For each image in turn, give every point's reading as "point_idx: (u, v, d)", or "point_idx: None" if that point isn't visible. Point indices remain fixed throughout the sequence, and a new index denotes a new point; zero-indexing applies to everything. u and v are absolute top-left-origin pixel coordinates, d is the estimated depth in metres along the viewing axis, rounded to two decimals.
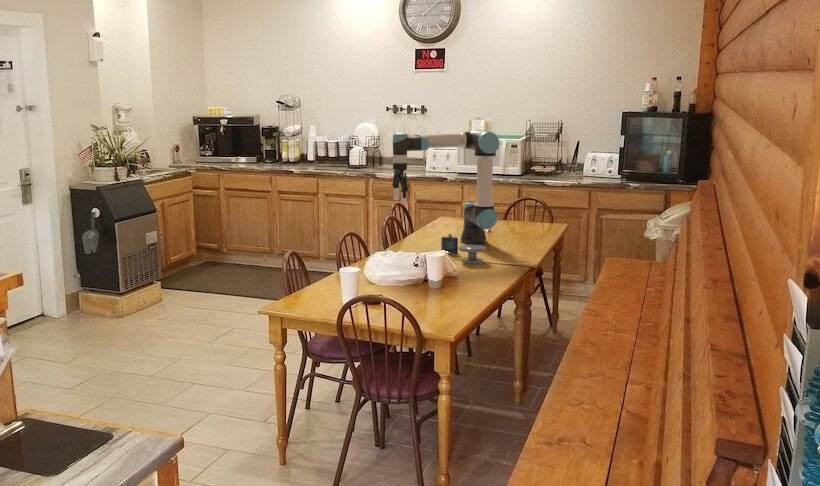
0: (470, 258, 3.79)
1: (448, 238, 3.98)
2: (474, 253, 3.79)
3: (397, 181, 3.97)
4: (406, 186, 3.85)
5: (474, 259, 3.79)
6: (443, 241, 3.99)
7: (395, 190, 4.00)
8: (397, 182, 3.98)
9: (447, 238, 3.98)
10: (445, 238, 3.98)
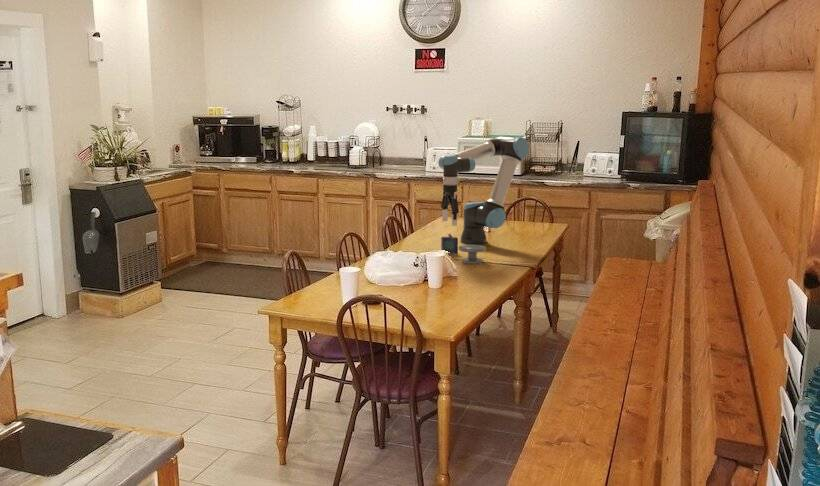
0: (470, 258, 3.79)
1: (448, 238, 3.98)
2: (474, 253, 3.79)
3: (446, 202, 3.98)
4: (457, 208, 3.86)
5: (474, 259, 3.79)
6: (443, 241, 3.99)
7: (444, 211, 4.02)
8: (446, 203, 3.99)
9: (447, 238, 3.98)
10: (445, 238, 3.98)
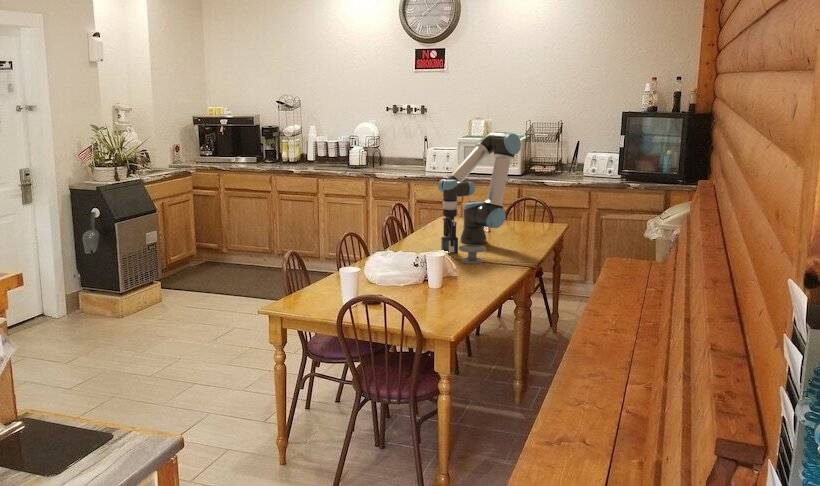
0: (470, 258, 3.79)
1: (448, 238, 3.98)
2: (474, 253, 3.79)
3: (448, 228, 4.00)
4: (454, 235, 3.93)
5: (474, 259, 3.79)
6: (443, 241, 3.99)
7: None
8: (448, 230, 4.00)
9: (447, 238, 3.98)
10: (445, 238, 3.98)
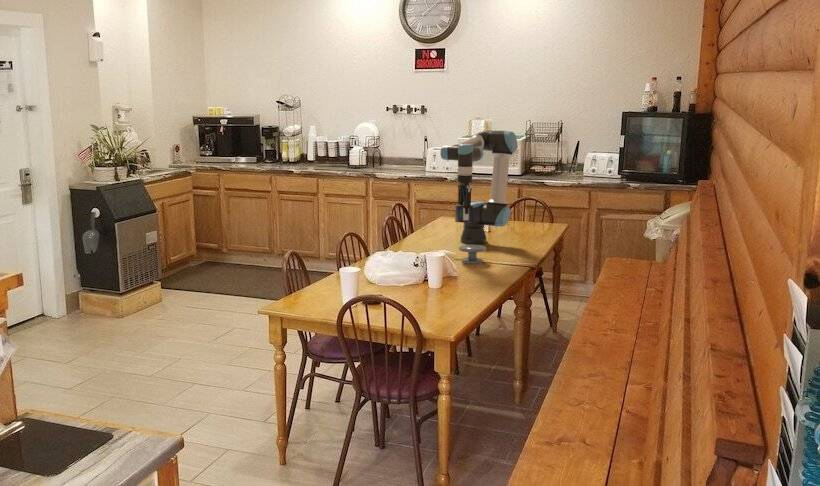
0: (470, 258, 3.79)
1: (463, 206, 3.81)
2: (474, 253, 3.79)
3: (462, 196, 3.83)
4: (469, 202, 3.76)
5: (474, 259, 3.79)
6: (457, 209, 3.82)
7: None
8: (463, 197, 3.83)
9: (462, 206, 3.81)
10: (460, 206, 3.81)
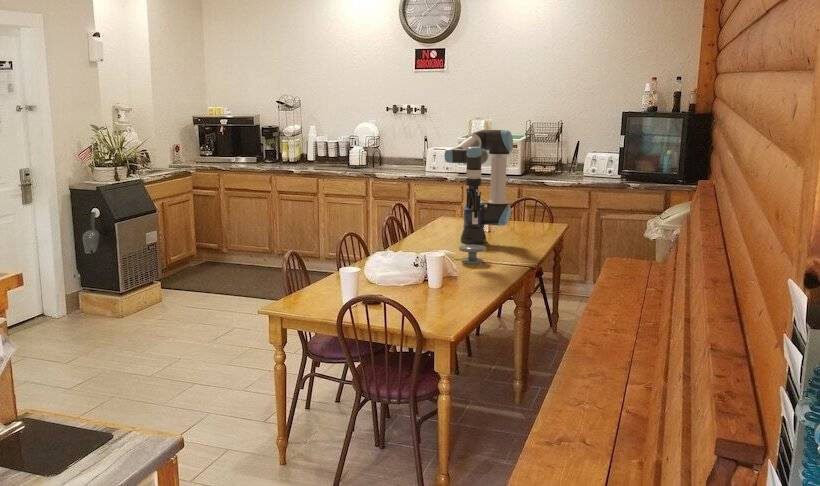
0: (470, 258, 3.79)
1: (472, 210, 3.75)
2: (474, 253, 3.79)
3: (471, 199, 3.76)
4: (479, 206, 3.70)
5: (474, 259, 3.79)
6: (466, 213, 3.75)
7: None
8: (471, 201, 3.77)
9: (471, 210, 3.75)
10: (468, 210, 3.75)
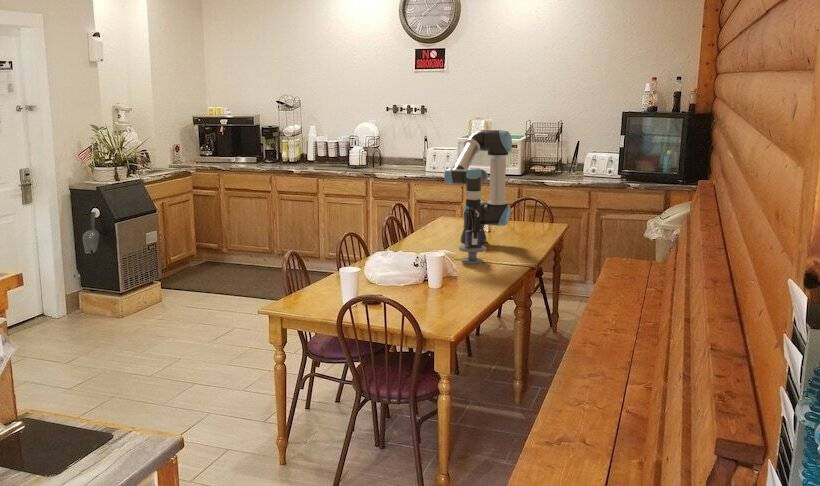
0: (470, 258, 3.79)
1: None
2: (474, 253, 3.79)
3: (471, 220, 3.78)
4: (478, 227, 3.72)
5: (474, 259, 3.79)
6: (468, 235, 3.77)
7: None
8: (471, 221, 3.79)
9: None
10: (470, 232, 3.77)
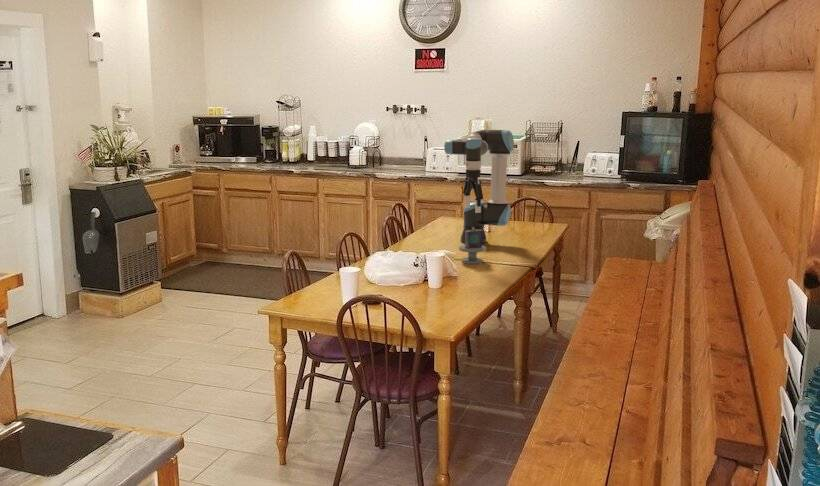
0: (470, 258, 3.79)
1: (473, 232, 3.77)
2: (474, 253, 3.79)
3: (469, 188, 3.79)
4: (481, 194, 3.67)
5: (474, 259, 3.79)
6: (468, 235, 3.77)
7: (466, 198, 3.82)
8: (469, 189, 3.79)
9: (472, 232, 3.77)
10: (470, 232, 3.77)
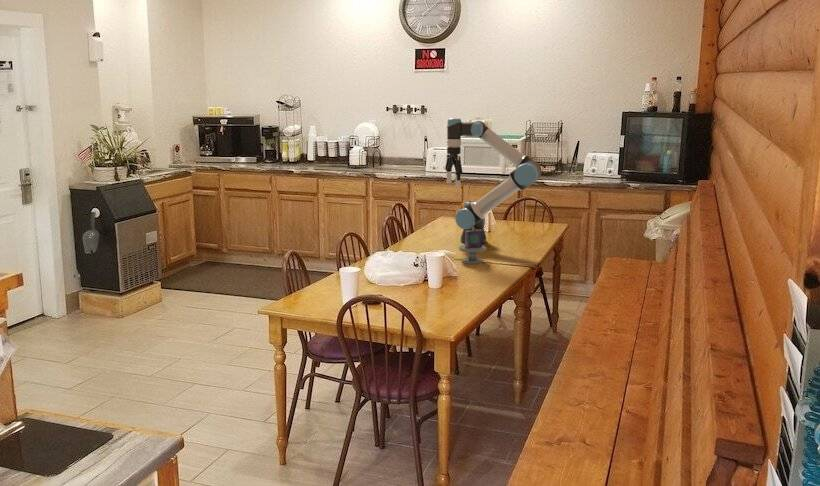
0: (470, 258, 3.79)
1: (473, 232, 3.77)
2: (474, 253, 3.79)
3: (450, 165, 4.14)
4: (460, 169, 4.02)
5: (474, 259, 3.79)
6: (468, 235, 3.77)
7: (448, 173, 4.17)
8: (450, 166, 4.15)
9: (472, 232, 3.77)
10: (470, 232, 3.77)
